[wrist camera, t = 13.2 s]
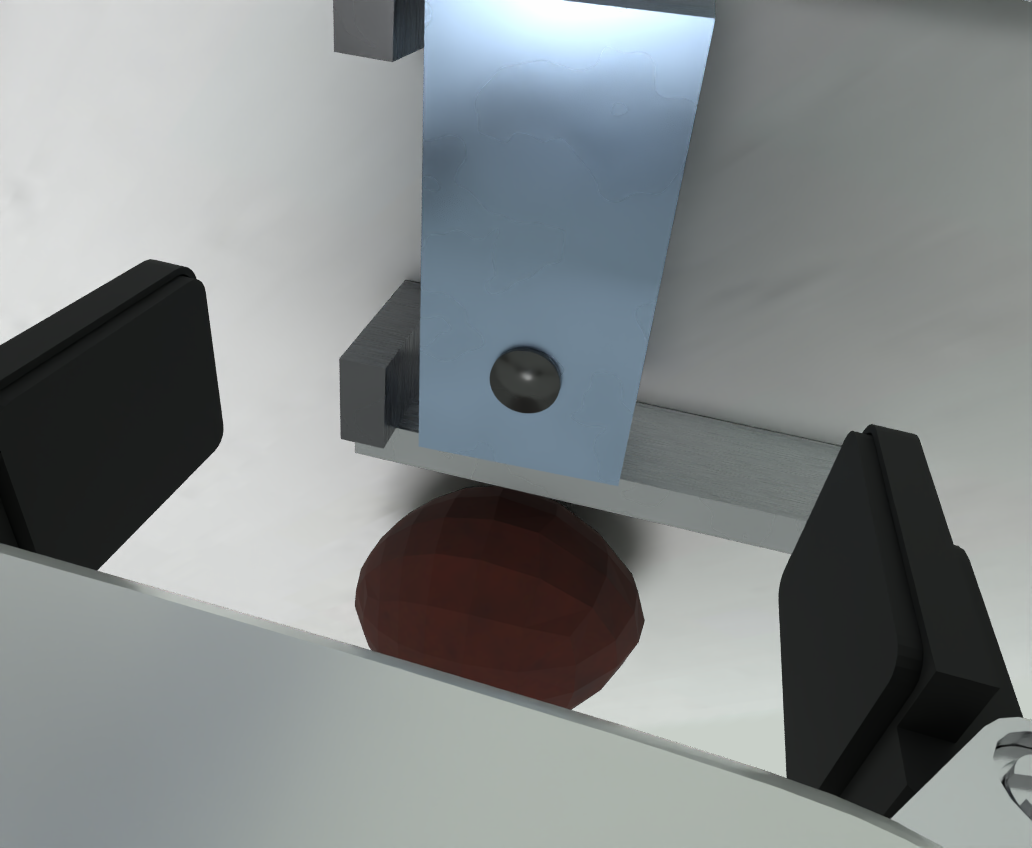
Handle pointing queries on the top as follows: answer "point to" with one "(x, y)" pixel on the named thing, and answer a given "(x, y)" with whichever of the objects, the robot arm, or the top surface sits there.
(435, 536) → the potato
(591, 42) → the lock block
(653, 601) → the top surface
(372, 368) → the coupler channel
